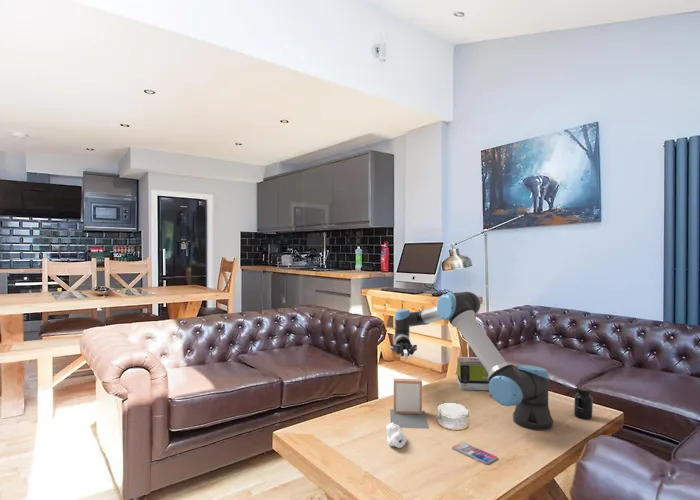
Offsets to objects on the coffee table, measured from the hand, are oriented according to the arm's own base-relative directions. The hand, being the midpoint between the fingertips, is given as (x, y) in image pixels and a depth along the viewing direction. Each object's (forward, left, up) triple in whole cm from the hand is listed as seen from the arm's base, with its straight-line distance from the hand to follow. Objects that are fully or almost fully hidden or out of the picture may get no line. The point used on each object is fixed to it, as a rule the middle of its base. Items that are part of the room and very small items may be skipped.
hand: (405, 356), depth 192 cm
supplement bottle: (-37, -66, -23) cm, 79 cm away
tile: (-8, +3, -22) cm, 24 cm away
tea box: (+10, -45, -23) cm, 51 cm away
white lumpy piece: (-30, +20, -23) cm, 43 cm away
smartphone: (-47, -2, -23) cm, 53 cm away
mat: (-14, +6, -23) cm, 27 cm away
